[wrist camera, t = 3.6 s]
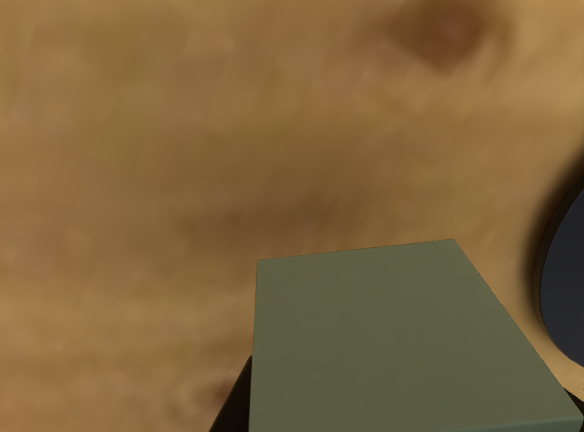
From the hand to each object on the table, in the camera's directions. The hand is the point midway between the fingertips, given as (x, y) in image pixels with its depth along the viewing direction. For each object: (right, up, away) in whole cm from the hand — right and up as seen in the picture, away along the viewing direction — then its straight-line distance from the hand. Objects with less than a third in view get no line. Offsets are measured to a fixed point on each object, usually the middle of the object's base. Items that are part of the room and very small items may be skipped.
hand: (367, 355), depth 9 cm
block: (0, +1, +1) cm, 1 cm away
